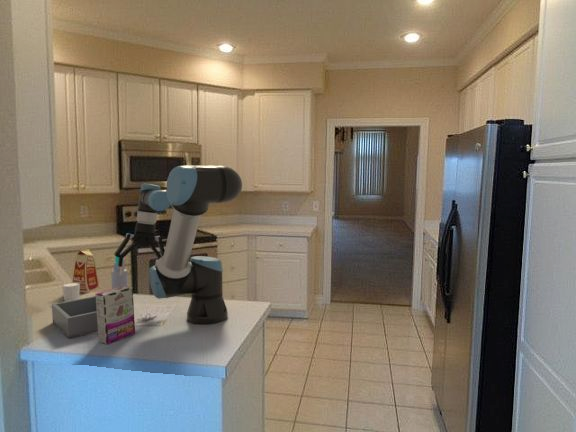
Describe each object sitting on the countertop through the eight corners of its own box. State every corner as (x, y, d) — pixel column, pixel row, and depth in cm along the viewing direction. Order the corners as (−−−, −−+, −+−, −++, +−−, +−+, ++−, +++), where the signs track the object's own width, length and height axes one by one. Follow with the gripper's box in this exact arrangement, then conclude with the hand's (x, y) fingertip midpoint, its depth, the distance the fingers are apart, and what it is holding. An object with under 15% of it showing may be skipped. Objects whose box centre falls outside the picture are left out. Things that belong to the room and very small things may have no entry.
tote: (118, 326, 153) (117, 307, 152) (68, 338, 142) (67, 318, 141) (99, 312, 168) (98, 295, 167) (52, 322, 157) (51, 304, 156)
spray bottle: (130, 305, 177) (128, 252, 175) (126, 309, 171) (123, 255, 169) (115, 305, 177) (113, 253, 175) (110, 310, 171) (108, 256, 169)
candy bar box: (126, 331, 149) (124, 285, 147) (135, 334, 146) (133, 287, 144) (97, 342, 139) (94, 292, 137) (106, 345, 137) (104, 295, 135)
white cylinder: (75, 297, 189) (74, 281, 188) (83, 299, 185) (82, 284, 184) (59, 300, 183) (58, 285, 182) (67, 303, 179) (66, 287, 178)
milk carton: (88, 292, 196) (86, 249, 194) (70, 291, 197) (68, 248, 195) (100, 287, 204) (98, 246, 202) (83, 286, 206) (81, 245, 204)
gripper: (173, 224, 180) (166, 274, 180) (111, 218, 166) (103, 272, 166) (179, 226, 174) (172, 278, 174) (115, 220, 160) (107, 276, 160)
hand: (138, 275), depth 170 cm, fingers open, 13 cm apart
